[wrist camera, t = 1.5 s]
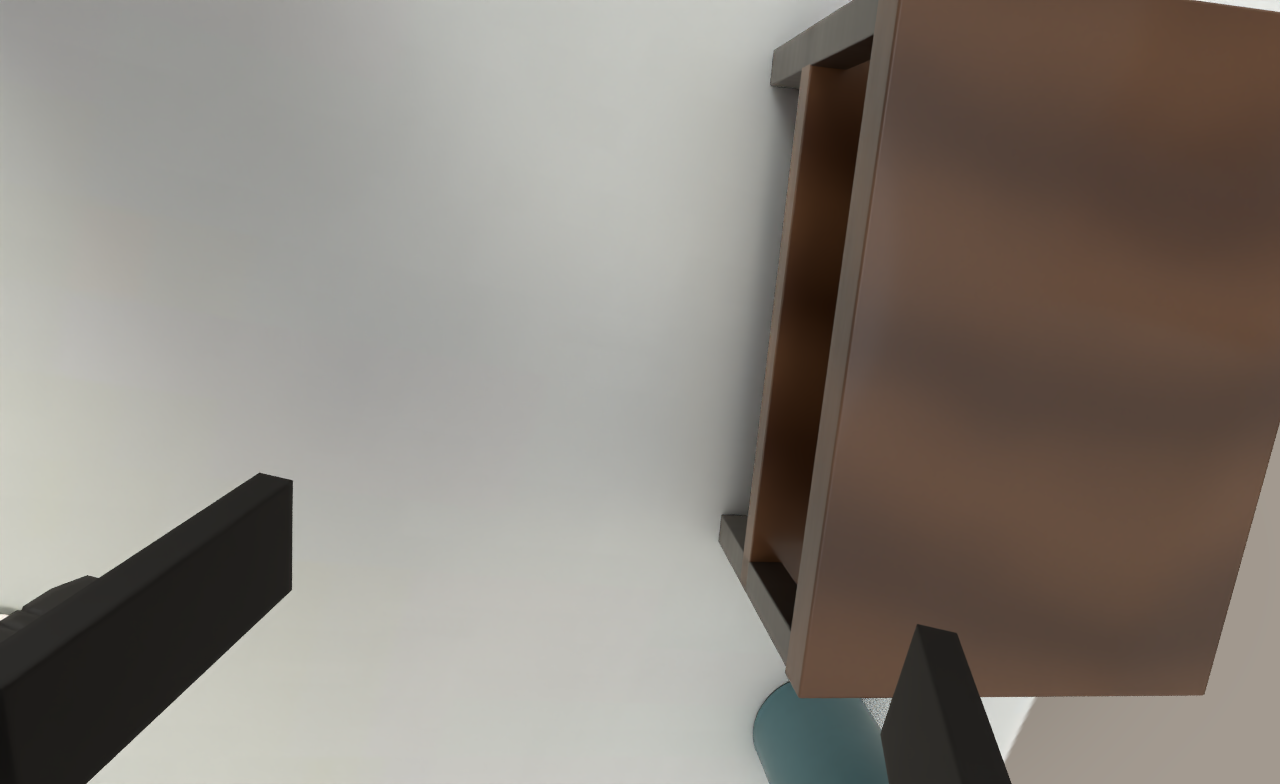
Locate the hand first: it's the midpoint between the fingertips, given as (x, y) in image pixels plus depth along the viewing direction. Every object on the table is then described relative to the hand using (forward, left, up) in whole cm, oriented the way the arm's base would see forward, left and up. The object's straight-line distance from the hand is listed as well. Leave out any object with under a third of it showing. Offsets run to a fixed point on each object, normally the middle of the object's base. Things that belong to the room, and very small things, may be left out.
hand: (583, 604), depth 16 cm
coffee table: (-4, +15, -19) cm, 25 cm away
